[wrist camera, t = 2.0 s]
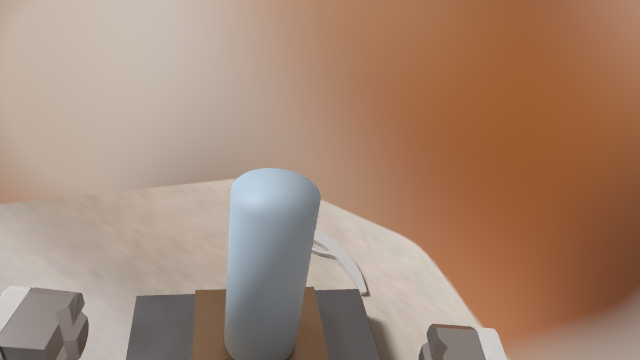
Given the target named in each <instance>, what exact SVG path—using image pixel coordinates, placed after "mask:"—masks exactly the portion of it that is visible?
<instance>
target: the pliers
mask: <svg viewBox="0 0 640 360" xmlns="http://www.w3.org/2000/svg"><path fill="white" fill-rule="evenodd" d="M313 243H315V244H317V245H318V246H320V247H322V248H323V249H325V250H319V249H316V248H312V252H311V253H313V254H316V255H319V256H323V257H329V258H332V259H334V260H336V261H337V262H338V263H339V264H340V265H341V266H342V268H343V269H344V270H345V271H346V273H347V274H348V276H349V277H350V279H351V280H352V282H353V283H354V285H355V286H356V288H357V289H359V291H360V294H361V296H362V295H366V294H367V290H366V286H365V282H364V280H363V277H362V274H361V272H360V270H359V268H358V266H357V265H356V263H355V262H354V260H353V259H352V258H351V256H350V255H349V254H348V253H347V252H346V251H345V250H344V248H343V247H342V246H341V245H340V244H338V243H337V242H336V241H335V240H334V239H332V238H331V237H330V236H328V235H327V234H325V233H323V232H321V231H319V230H317V229H315V234H314V240H313Z"/></svg>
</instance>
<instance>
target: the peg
mask: <svg viewBox="0 0 640 360" xmlns="http://www.w3.org/2000/svg"><path fill="white" fill-rule="evenodd" d="M319 205H320V192H319V190H318V188H317V187H316V185H314V183H313V182H312V181H310V180H309V179H308V178H306V177H304V176H303V175H300V174H298V173H296V172H292V171H289V170H285V169H277V168H265V169H257V170H253V171H250V172H247V173H245V174H243V175H241V176H240V177H239V178H237V179H236V181H235V182H234V183H233V185H232V188H231V204H230V225H229V246H228V267H227V288H226V309H225V330H224V343H225V347H226V349H227V351H228V353H229V354H230V355H231V356H232V358H234V359H235V360H286V359H287V358H288V357H289V356H290V355H291V353H292V352H293V350H294V348H295V344H296V339H297V333H298V327H299V321H300V315H301V310H302V304H303V298H304V292H305V286H306V281H307V275H308V269H309V263H310V257H311V252H312V246H313V240H314V234H315V228H316V223H317V217H318V211H319Z"/></svg>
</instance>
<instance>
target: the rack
mask: <svg viewBox="0 0 640 360" xmlns="http://www.w3.org/2000/svg"><path fill="white" fill-rule="evenodd" d="M225 309H226V289H223V290H196V293H195V294H185V295H153V296H137V297H136V303H135V309H134V315H133V321H132V327H131V333H130V339H129V345H128V351H127V357H126V360H235V359H234V358H232V356H231V355H230V354H229V353H228V351H227V349H226V347H225V343H224V330H225ZM286 360H381V359H380V356H379V353H378V350H377V346H376V343H375V340H374V337H373V333H372V330H371V327H370V324H369V320H368V317H367V314H366V311H365V307H364V304H363V301H362V298H361V294H360V291H359V289H345V290H314V287H305V292H304V298H303V304H302V310H301V315H300V321H299V327H298V333H297V339H296V344H295V348H294V350H293V352H292V353H291V355H290V356H289V357H288V358H287V359H286Z"/></svg>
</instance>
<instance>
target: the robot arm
mask: <svg viewBox="0 0 640 360" xmlns="http://www.w3.org/2000/svg"><path fill="white" fill-rule="evenodd" d="M84 304H85V303H84V299H83V295H82V293H77V292H68V291H60V290H51V289H42V288H32V287H22V286H13V285H11V286H10V287H9V288H7V289H6V290H4V292H3V293H2V294H1V296H0V360H78V359H79V358H80V357H81V355H82V352H83V350H84V348H85V345H86V341H87V337H88V327H89V324H88V318H87V316H86V315H84V314H83V313H82V312H81V310H82V308H83V306H84ZM427 338H428V342H427V343H426V344H424V345H423V346H422V348H421V351H420V354H419V360H507V357H506V355H505V352H504V349H503V346H502V344H501V341H500V338H499V336H498V333H497V332H496V331H495V329H489V328H478V327H470V326H457V325H444V324H432V325H431V326H430V327H429V329H428V332H427Z"/></svg>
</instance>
